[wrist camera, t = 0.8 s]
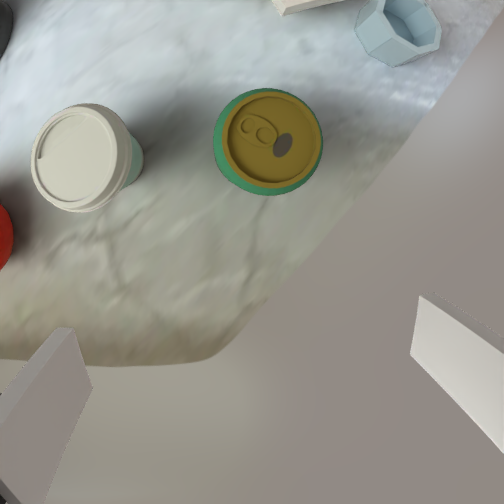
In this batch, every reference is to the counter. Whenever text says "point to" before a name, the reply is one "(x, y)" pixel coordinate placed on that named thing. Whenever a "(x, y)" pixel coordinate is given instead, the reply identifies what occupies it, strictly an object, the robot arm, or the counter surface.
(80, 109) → the coffee cup
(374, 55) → the bowl
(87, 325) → the counter surface
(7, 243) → the apple
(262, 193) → the beverage can
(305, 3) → the ceramic tile
